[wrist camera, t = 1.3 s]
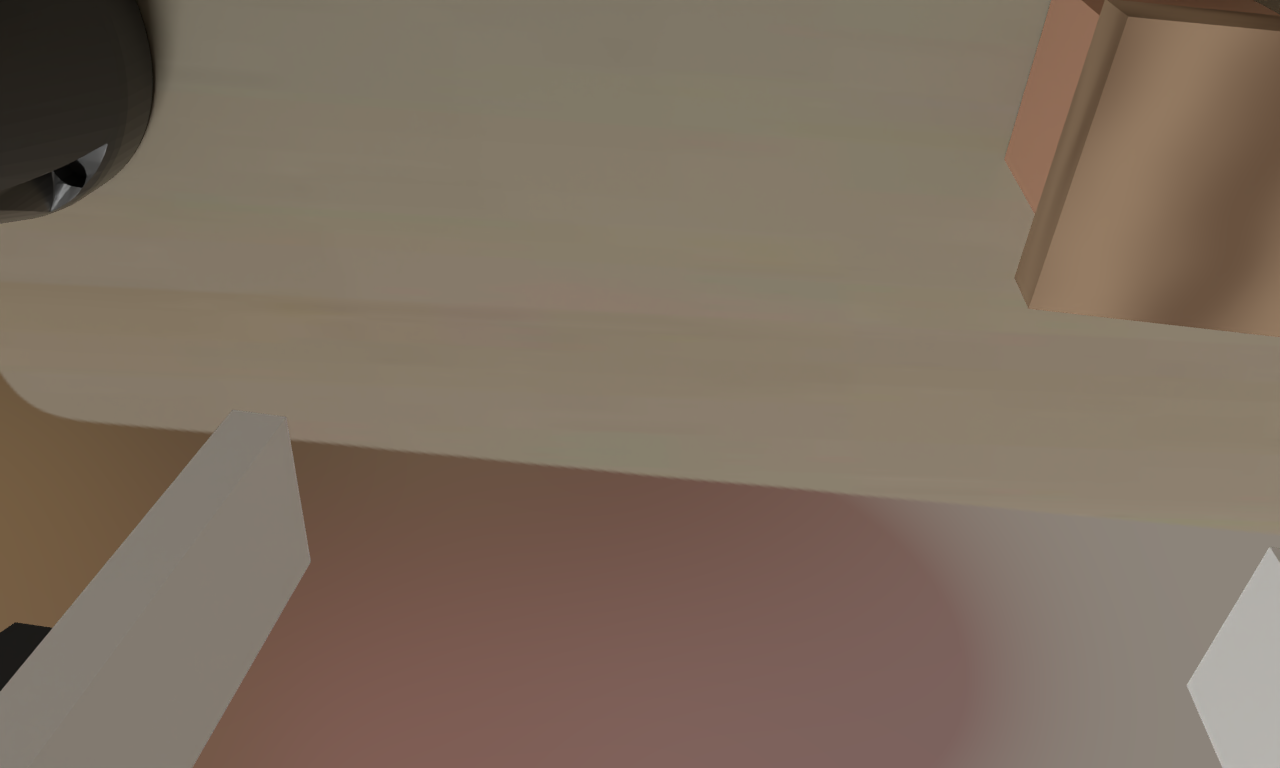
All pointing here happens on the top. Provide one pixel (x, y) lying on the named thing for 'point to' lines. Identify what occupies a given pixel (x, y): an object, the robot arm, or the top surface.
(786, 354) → the top surface
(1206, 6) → the tan hollow square block
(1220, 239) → the lid
